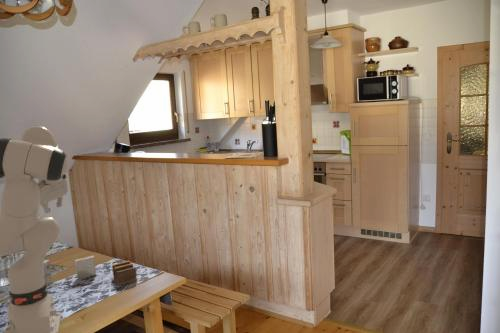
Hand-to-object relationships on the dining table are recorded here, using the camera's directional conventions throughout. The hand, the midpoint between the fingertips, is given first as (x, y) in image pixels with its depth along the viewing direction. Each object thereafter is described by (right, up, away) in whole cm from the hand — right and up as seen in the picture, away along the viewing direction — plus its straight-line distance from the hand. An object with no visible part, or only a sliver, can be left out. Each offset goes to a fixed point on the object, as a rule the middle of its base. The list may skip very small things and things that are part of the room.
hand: (53, 209), depth 179 cm
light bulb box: (-8, -35, +3) cm, 36 cm away
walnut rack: (+29, -32, +6) cm, 44 cm away
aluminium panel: (+10, -32, +11) cm, 36 cm away
